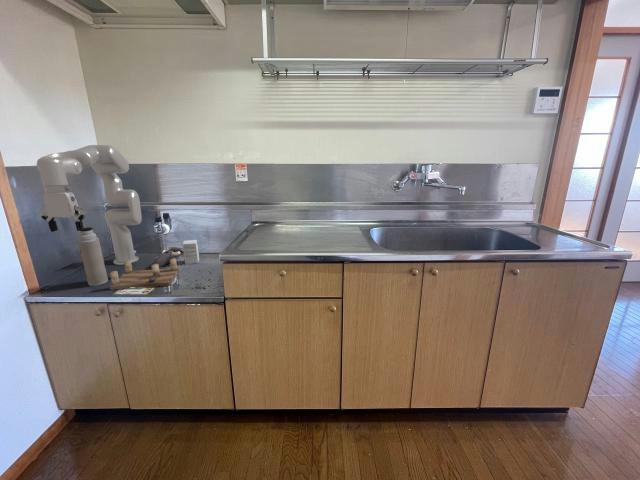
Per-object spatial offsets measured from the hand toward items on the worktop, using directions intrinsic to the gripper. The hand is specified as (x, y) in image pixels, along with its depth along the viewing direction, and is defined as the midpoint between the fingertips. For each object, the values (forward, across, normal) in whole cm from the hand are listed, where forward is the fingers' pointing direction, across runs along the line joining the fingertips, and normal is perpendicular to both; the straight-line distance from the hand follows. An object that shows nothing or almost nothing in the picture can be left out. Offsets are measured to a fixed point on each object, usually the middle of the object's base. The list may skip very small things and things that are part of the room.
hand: (67, 230), depth 120 cm
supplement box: (+31, -37, -38) cm, 61 cm away
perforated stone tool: (+31, -22, -36) cm, 52 cm away
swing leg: (+28, -26, -10) cm, 40 cm away
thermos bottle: (+31, +2, -14) cm, 34 cm away
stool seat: (+31, -21, -14) cm, 40 cm away
